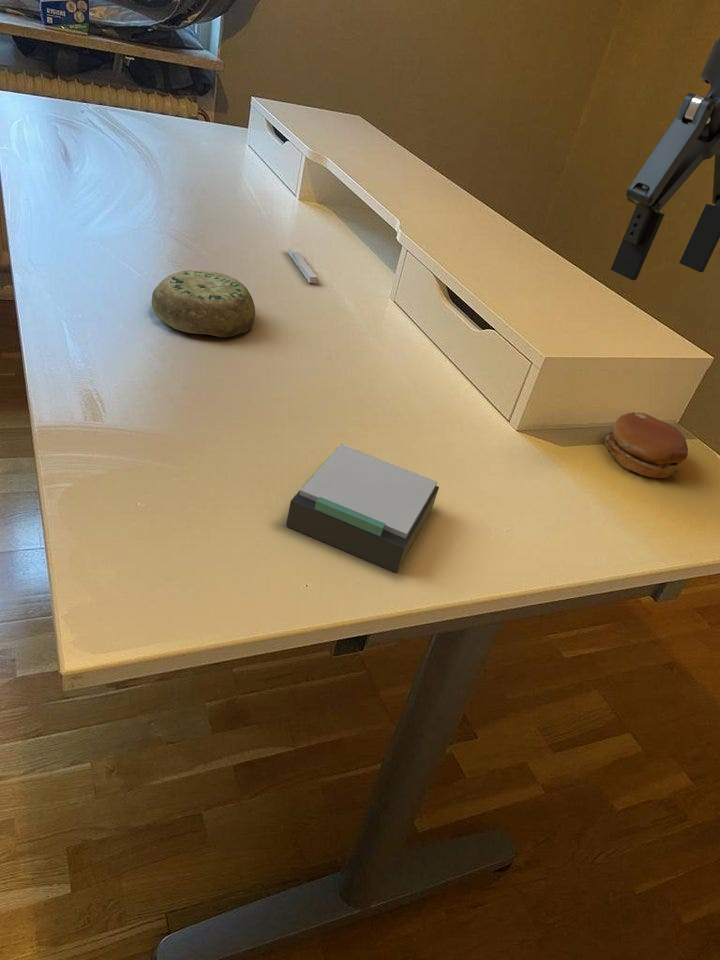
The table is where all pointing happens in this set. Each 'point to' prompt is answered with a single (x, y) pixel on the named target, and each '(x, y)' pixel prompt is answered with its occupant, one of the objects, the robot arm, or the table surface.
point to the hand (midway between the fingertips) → (658, 271)
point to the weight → (204, 303)
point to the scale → (364, 506)
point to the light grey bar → (302, 265)
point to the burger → (646, 445)
